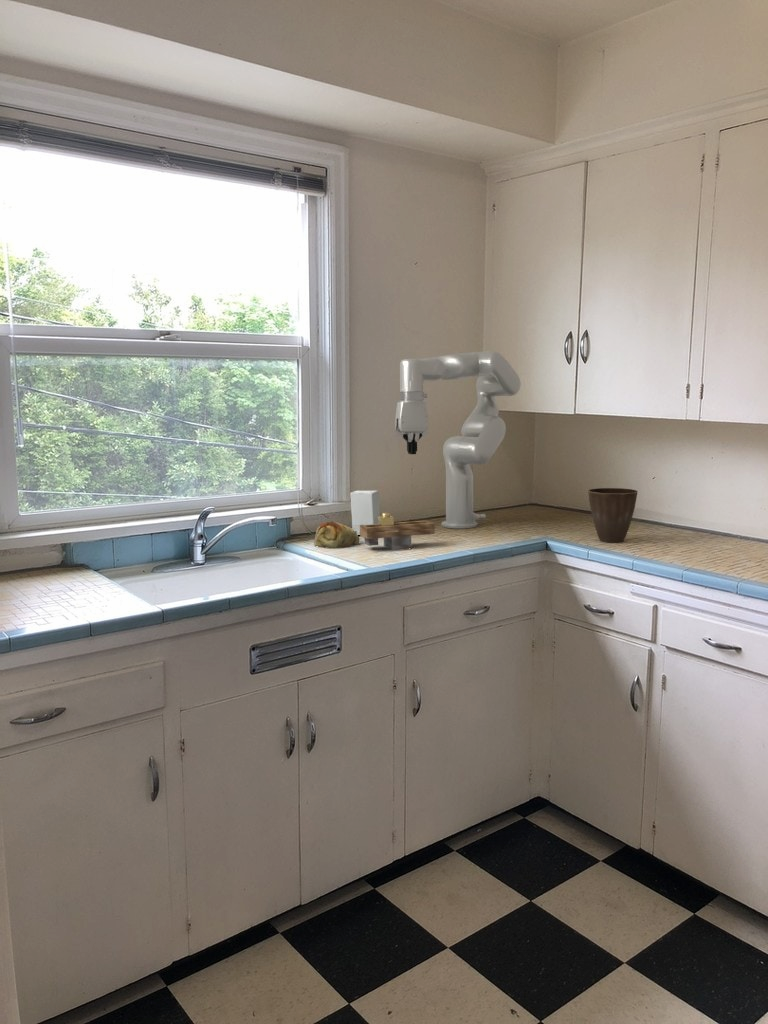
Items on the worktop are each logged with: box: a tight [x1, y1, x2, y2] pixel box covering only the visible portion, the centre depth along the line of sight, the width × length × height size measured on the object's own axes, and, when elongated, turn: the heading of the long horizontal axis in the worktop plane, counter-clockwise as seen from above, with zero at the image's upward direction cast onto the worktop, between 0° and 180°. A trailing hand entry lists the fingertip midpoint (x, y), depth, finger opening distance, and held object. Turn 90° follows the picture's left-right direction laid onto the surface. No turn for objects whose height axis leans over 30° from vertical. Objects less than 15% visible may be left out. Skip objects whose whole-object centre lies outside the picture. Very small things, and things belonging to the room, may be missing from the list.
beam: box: [359, 519, 436, 551], centre depth 250 cm, size 22×8×7 cm, turn 110°
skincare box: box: [349, 489, 381, 535], centre depth 271 cm, size 8×6×15 cm
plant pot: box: [587, 487, 639, 544], centre depth 256 cm, size 15×15×16 cm
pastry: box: [313, 521, 360, 549], centre depth 255 cm, size 14×12×8 cm
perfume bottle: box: [378, 512, 395, 527], centre depth 248 cm, size 4×3×5 cm
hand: (412, 453), depth 266 cm, fingers closed
